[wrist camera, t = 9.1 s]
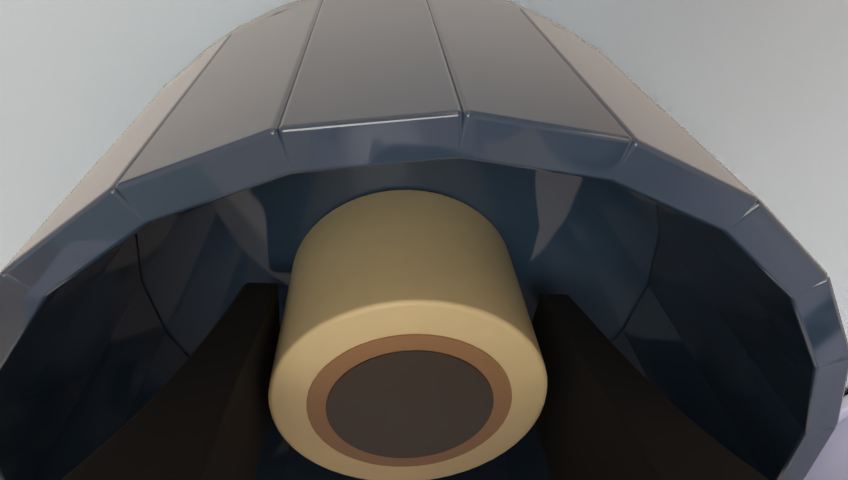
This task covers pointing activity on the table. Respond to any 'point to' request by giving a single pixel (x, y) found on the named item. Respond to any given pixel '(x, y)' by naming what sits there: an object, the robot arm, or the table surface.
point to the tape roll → (405, 342)
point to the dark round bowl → (427, 171)
